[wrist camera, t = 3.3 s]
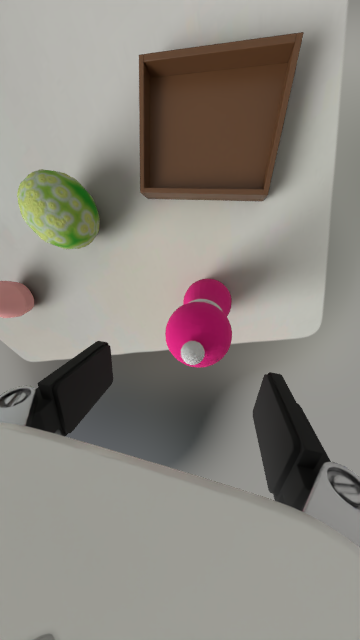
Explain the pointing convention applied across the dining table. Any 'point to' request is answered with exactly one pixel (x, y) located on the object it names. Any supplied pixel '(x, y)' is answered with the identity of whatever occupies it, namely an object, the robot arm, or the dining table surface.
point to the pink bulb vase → (14, 299)
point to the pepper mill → (201, 325)
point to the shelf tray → (214, 118)
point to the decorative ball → (58, 209)
